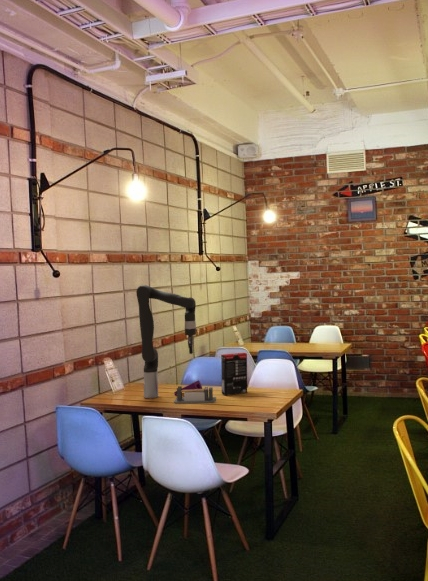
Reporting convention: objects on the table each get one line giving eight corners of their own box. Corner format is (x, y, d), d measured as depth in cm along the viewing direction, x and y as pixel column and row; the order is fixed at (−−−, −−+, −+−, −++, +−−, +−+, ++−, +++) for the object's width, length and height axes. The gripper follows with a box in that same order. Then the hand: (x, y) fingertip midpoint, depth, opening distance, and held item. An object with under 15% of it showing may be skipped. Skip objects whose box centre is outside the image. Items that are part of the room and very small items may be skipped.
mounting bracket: (177, 404, 388) (198, 394, 381) (171, 393, 389) (193, 382, 382) (182, 401, 396) (204, 391, 390) (177, 390, 397) (198, 380, 391)
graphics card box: (243, 391, 395) (242, 351, 394) (248, 393, 389) (247, 353, 388) (221, 394, 388) (220, 354, 387) (226, 396, 382) (224, 355, 381)
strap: (178, 392, 369) (178, 389, 369) (178, 391, 373) (178, 388, 373) (207, 391, 368) (207, 387, 368) (208, 389, 371) (207, 386, 371)
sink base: (173, 403, 365) (173, 389, 364) (176, 399, 378) (176, 385, 377) (214, 403, 363) (214, 388, 363) (215, 398, 376) (215, 384, 376)
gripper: (185, 326, 388) (186, 352, 388) (183, 328, 375) (184, 355, 375) (196, 326, 387) (197, 352, 388) (194, 328, 374) (195, 355, 375)
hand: (191, 353), depth 382 cm, fingers closed
